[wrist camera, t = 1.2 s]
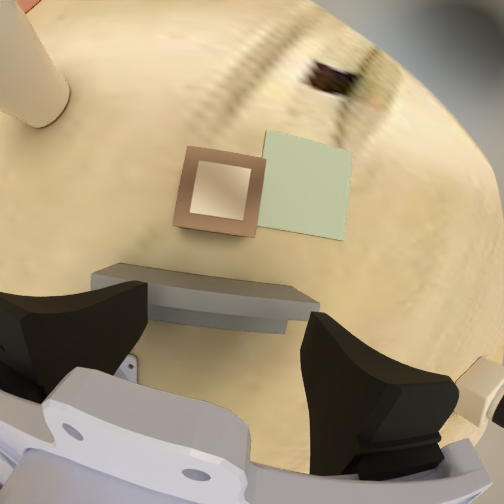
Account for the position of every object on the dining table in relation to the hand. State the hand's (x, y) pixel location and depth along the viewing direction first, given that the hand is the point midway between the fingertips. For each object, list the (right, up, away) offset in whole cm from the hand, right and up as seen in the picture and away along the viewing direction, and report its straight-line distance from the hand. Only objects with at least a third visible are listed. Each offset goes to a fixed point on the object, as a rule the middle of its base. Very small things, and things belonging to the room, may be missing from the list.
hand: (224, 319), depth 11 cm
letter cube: (-2, +7, +10) cm, 12 cm away
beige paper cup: (-18, +17, +6) cm, 25 cm away
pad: (+6, +8, +11) cm, 15 cm away
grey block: (-3, -1, +10) cm, 10 cm away
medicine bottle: (+35, -18, +18) cm, 44 cm away
